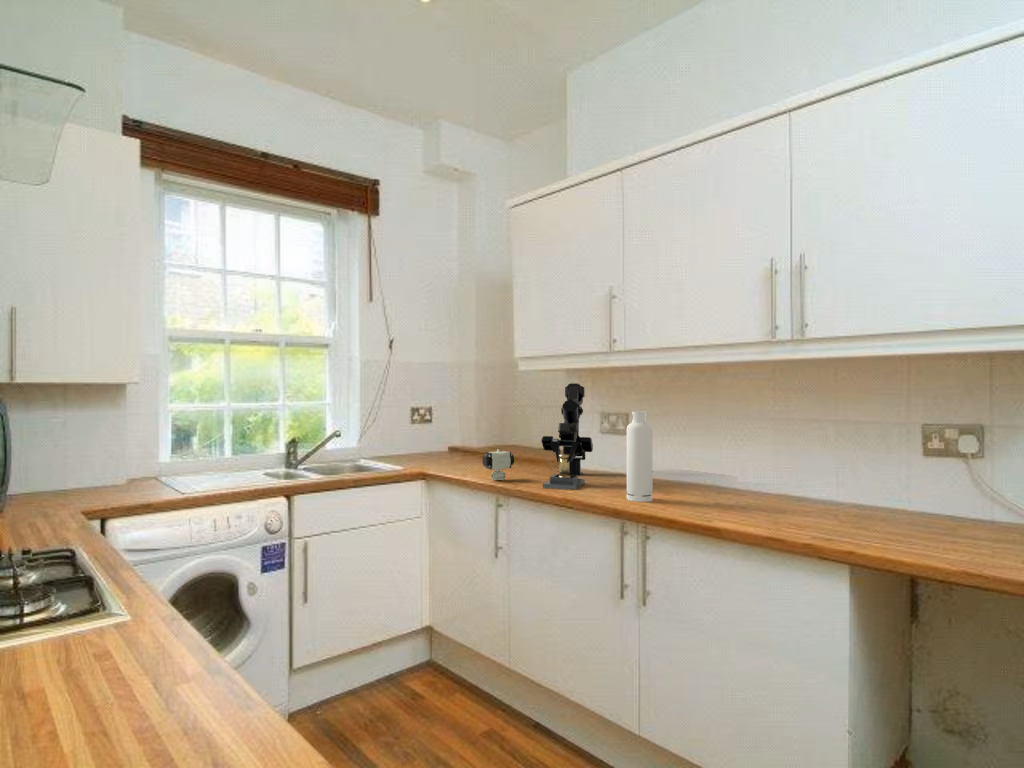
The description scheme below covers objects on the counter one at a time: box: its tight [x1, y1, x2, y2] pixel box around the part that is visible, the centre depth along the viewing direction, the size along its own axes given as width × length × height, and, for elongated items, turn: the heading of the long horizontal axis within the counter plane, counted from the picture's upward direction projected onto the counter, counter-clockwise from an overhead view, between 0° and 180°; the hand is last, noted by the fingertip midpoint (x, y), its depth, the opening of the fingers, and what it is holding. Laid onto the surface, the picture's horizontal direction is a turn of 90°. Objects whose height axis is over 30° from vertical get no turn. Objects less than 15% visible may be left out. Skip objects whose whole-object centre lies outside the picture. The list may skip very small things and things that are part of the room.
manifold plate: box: [542, 473, 586, 490], centre depth 210 cm, size 16×12×4 cm
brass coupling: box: [558, 453, 570, 478], centre depth 210 cm, size 4×4×9 cm
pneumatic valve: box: [482, 449, 515, 481], centre depth 222 cm, size 6×12×12 cm, turn 116°
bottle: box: [626, 411, 653, 503], centre depth 183 cm, size 8×8×28 cm
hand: (563, 461), depth 209 cm, fingers closed on brass coupling, 4 cm apart
